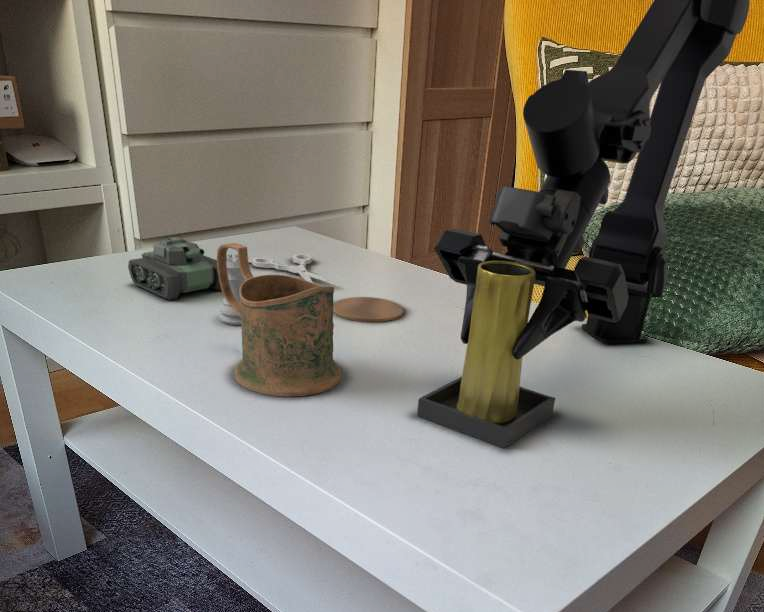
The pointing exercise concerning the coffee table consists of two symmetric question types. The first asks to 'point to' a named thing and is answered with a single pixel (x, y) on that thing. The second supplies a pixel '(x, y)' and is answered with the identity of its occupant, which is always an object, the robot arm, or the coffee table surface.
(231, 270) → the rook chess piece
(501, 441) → the black tray
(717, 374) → the coffee table surface
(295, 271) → the scissors
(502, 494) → the coffee table surface
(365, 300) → the coaster
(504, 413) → the vase
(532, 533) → the coffee table surface
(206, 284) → the toy tank
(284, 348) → the mug
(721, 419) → the coffee table surface
